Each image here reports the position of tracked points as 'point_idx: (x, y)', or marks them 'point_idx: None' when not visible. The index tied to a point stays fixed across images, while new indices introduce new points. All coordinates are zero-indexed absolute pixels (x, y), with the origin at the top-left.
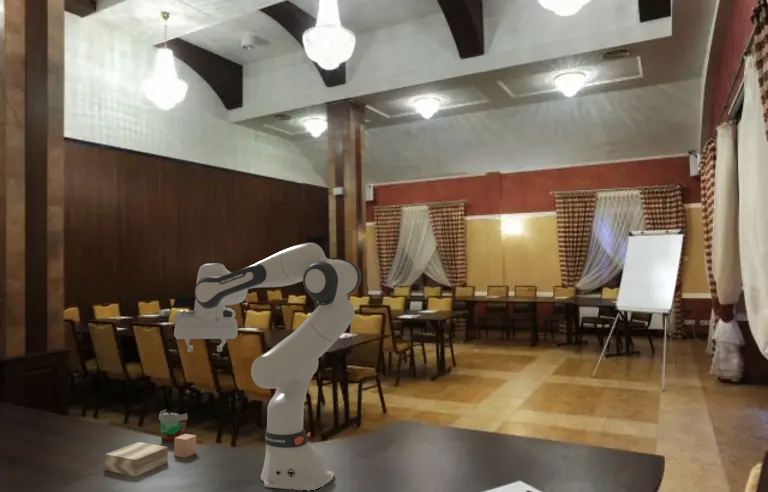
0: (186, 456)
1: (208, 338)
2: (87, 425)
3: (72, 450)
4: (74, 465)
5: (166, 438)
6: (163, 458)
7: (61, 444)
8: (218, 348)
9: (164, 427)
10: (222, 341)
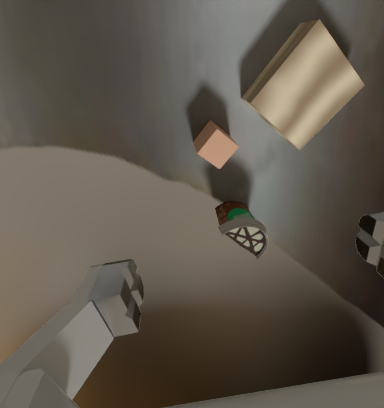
0: (208, 122)
1: (291, 391)
2: (332, 275)
3: (366, 189)
4: (378, 120)
5: (243, 206)
6: (251, 90)
7: None
8: (118, 280)
9: (253, 217)
10: (38, 374)
